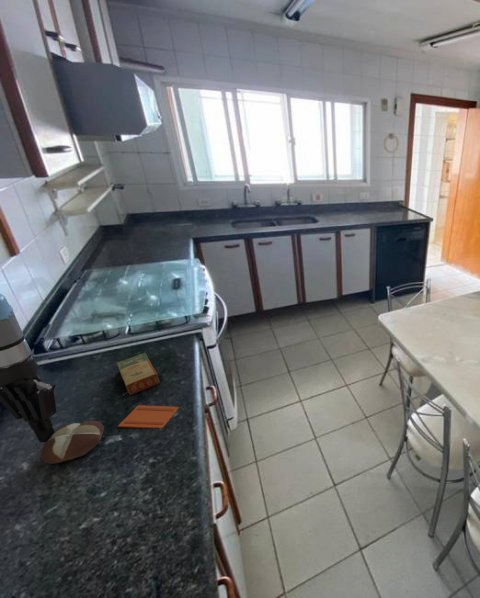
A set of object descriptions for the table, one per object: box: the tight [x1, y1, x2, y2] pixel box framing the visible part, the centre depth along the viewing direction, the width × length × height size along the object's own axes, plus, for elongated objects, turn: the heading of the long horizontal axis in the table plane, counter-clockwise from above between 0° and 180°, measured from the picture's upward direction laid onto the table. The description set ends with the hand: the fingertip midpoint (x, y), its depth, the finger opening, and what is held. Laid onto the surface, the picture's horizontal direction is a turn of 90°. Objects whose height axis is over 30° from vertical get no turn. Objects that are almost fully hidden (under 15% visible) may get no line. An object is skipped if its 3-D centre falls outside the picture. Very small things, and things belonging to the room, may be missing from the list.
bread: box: [40, 420, 105, 465], centre depth 83 cm, size 11×11×5 cm
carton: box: [116, 352, 161, 396], centre depth 107 cm, size 8×16×4 cm, turn 46°
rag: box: [117, 404, 179, 429], centre depth 94 cm, size 12×8×1 cm, turn 91°
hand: (47, 437), depth 82 cm, fingers closed
